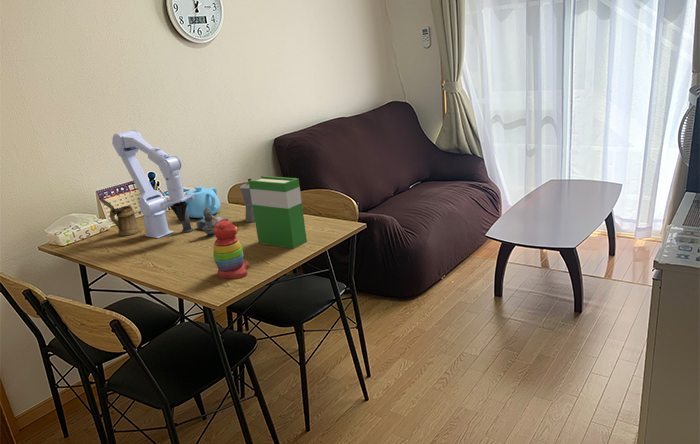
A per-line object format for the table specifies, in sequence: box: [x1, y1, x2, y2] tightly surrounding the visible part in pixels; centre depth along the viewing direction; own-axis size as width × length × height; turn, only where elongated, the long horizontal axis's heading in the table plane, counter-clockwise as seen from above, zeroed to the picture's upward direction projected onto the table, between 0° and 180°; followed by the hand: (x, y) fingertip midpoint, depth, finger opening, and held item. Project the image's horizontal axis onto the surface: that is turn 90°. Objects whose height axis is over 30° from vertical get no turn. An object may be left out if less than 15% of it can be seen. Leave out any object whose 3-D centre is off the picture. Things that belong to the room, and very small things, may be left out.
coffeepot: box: [239, 178, 255, 223], centre depth 221 cm, size 15×9×18 cm, turn 37°
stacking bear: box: [213, 219, 250, 279], centre depth 167 cm, size 11×10×18 cm
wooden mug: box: [99, 197, 142, 237], centre depth 220 cm, size 9×14×18 cm, turn 139°
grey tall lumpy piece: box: [202, 207, 216, 239], centre depth 207 cm, size 6×6×12 cm
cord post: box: [181, 210, 194, 234], centre depth 217 cm, size 4×4×9 cm
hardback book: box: [248, 175, 308, 250], centre depth 190 cm, size 18×7×24 cm, turn 55°
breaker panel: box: [196, 215, 229, 230], centre depth 219 cm, size 11×8×4 cm
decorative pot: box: [184, 185, 222, 220], centre depth 237 cm, size 16×16×14 cm
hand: (181, 220), depth 207 cm, fingers closed
